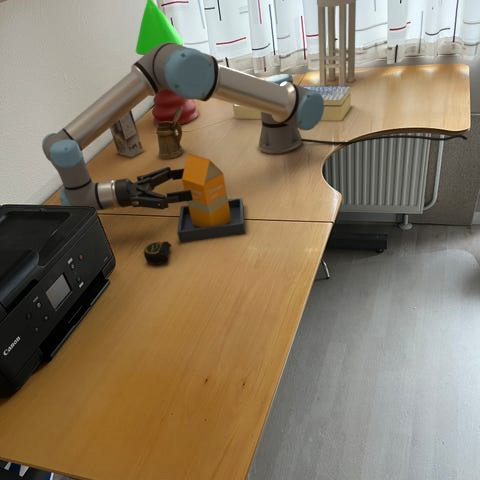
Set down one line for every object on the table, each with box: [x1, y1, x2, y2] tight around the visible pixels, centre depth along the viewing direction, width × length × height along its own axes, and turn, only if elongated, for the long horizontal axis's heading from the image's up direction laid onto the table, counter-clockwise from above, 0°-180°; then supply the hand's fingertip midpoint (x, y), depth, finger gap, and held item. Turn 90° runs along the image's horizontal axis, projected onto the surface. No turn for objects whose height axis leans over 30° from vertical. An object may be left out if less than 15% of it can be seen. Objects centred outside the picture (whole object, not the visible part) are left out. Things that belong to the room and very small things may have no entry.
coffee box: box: [109, 110, 144, 158], centre depth 183 cm, size 9×6×16 cm
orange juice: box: [181, 153, 231, 228], centre depth 133 cm, size 8×9×20 cm
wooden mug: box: [155, 105, 184, 160], centre depth 175 cm, size 9×14×18 cm, turn 68°
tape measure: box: [143, 240, 172, 265], centre depth 130 cm, size 7×7×4 cm
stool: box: [316, 0, 357, 87], centre depth 201 cm, size 16×16×35 cm
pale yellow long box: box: [232, 85, 352, 122], centre depth 192 cm, size 45×15×10 cm, turn 66°
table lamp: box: [135, 0, 199, 126], centre depth 195 cm, size 20×20×45 cm
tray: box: [176, 197, 246, 243], centre depth 139 cm, size 19×15×3 cm
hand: (193, 183), depth 132 cm, fingers open, 13 cm apart
